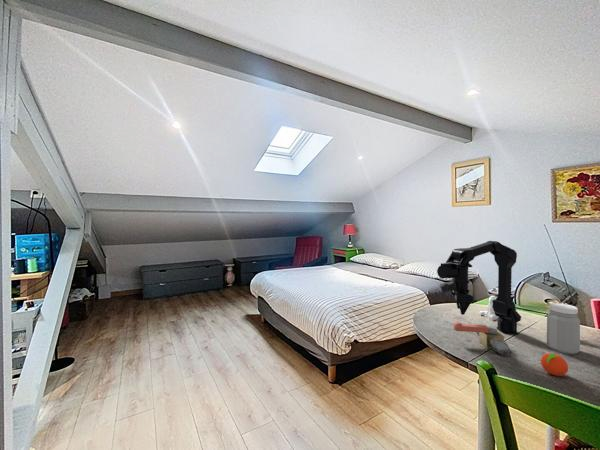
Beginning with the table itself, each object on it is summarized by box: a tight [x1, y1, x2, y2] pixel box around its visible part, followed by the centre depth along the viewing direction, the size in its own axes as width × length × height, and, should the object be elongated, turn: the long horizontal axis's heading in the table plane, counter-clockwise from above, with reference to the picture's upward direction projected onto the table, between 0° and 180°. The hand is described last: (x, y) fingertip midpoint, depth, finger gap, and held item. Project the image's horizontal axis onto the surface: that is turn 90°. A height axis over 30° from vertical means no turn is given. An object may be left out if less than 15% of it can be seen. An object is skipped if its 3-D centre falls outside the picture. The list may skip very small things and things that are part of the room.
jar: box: [546, 302, 581, 355], centre depth 110 cm, size 10×10×18 cm
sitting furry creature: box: [478, 295, 499, 321], centre depth 147 cm, size 10×9×12 cm
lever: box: [453, 321, 498, 334], centre depth 115 cm, size 16×4×3 cm, turn 80°
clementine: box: [540, 352, 569, 377], centre depth 93 cm, size 8×7×7 cm
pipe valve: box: [475, 331, 511, 356], centre depth 114 cm, size 20×6×6 cm, turn 170°
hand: (460, 311), depth 122 cm, fingers open, 8 cm apart
